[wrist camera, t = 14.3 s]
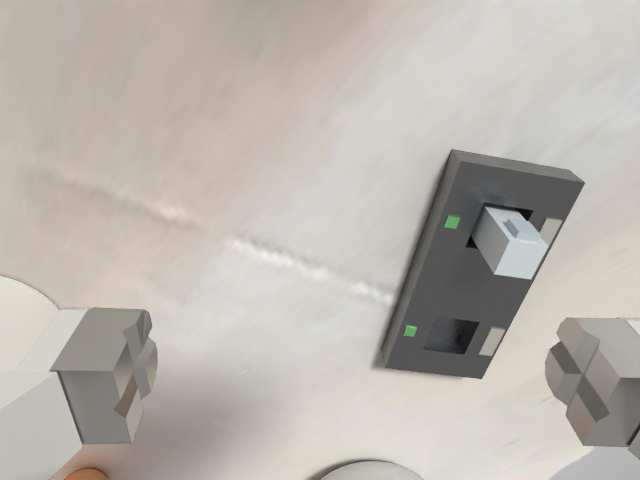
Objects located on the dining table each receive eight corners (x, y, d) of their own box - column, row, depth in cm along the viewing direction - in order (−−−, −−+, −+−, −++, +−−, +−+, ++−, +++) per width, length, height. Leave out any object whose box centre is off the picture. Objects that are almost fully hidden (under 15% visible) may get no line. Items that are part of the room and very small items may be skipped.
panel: (473, 360, 57) (482, 380, 55) (381, 349, 56) (385, 369, 53) (568, 170, 44) (586, 183, 41) (451, 149, 43) (461, 161, 40)
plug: (498, 234, 47) (531, 279, 40) (466, 229, 47) (494, 274, 40) (514, 197, 45) (551, 239, 38) (481, 192, 45) (513, 233, 38)
